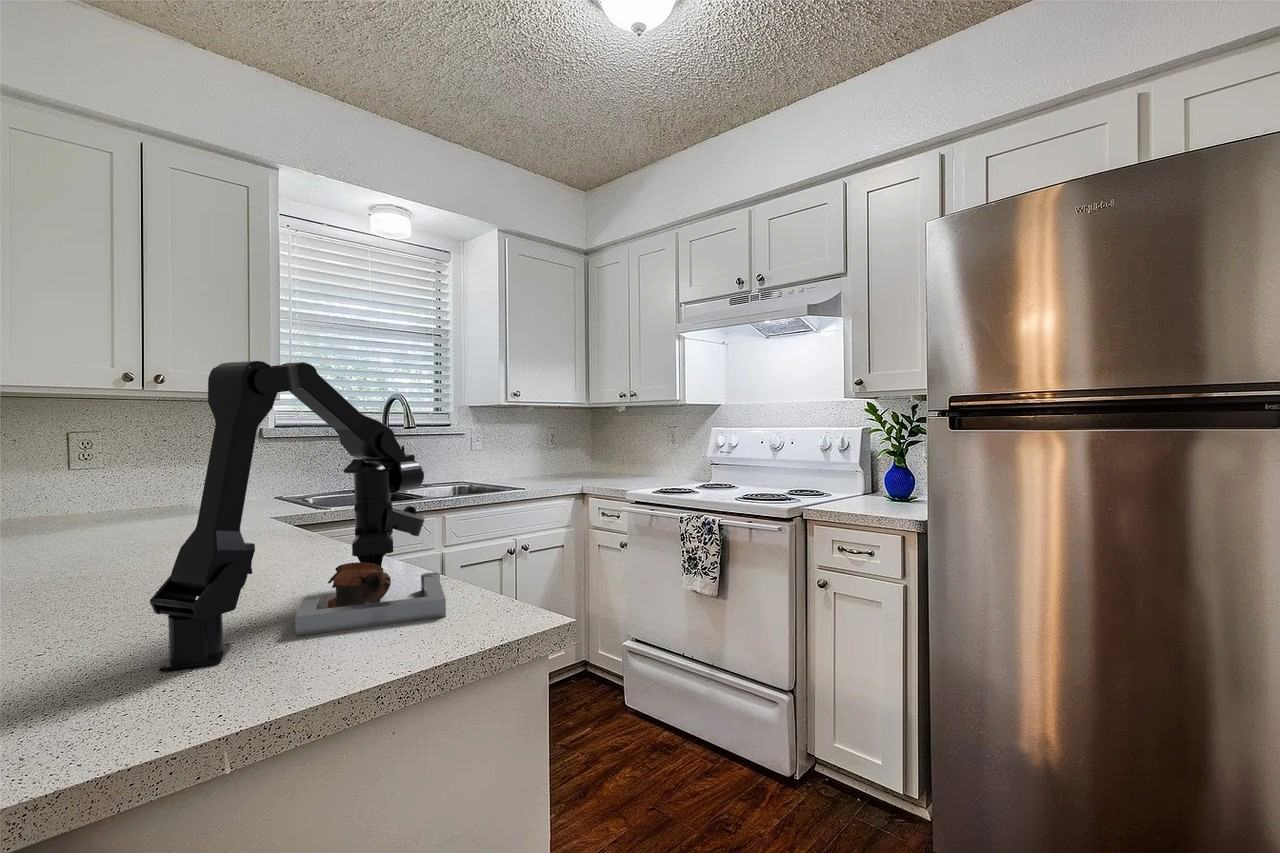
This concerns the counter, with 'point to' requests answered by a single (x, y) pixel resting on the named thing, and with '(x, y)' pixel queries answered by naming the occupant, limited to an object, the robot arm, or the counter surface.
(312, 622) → the hook
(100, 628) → the counter surface
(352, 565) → the pottery mug
